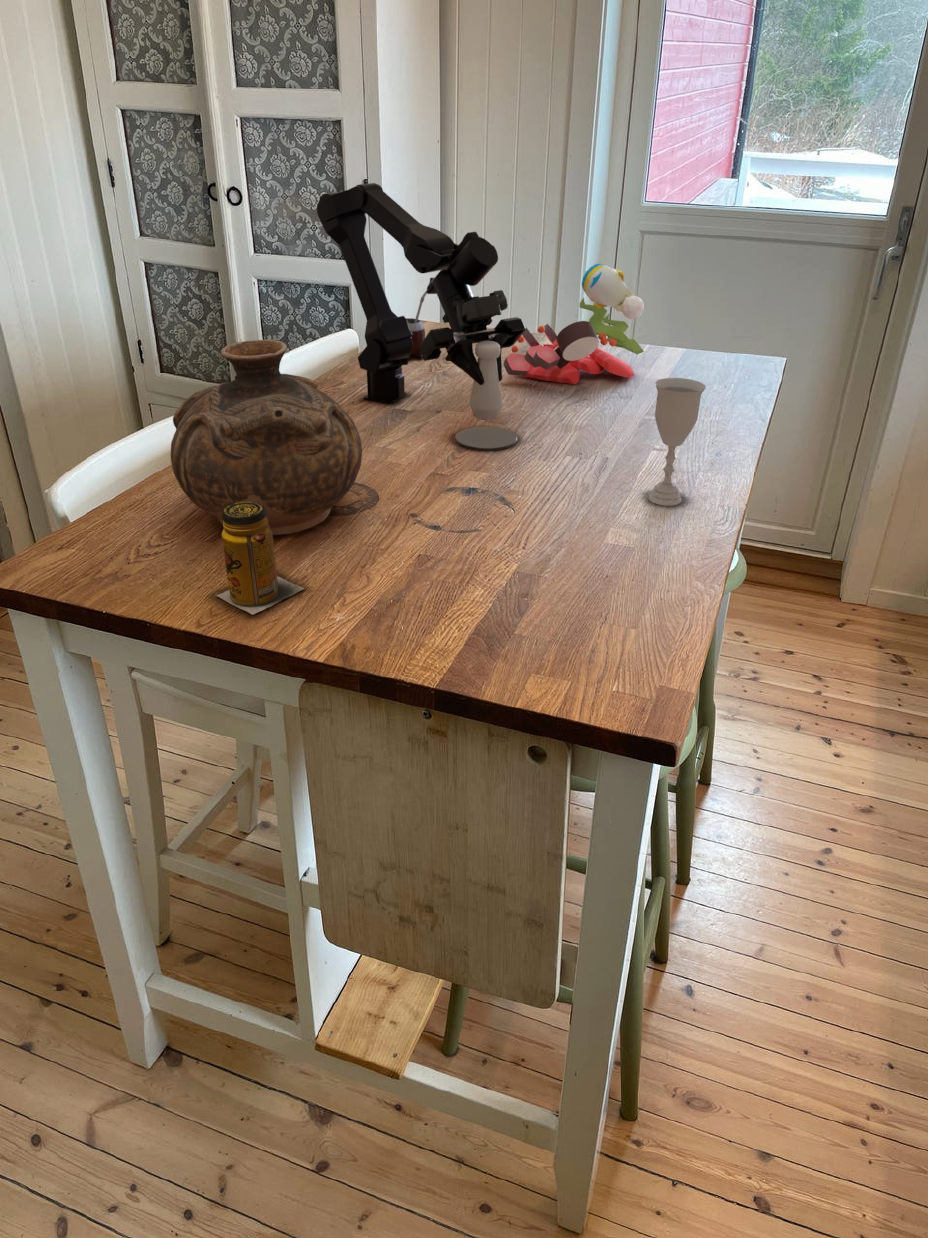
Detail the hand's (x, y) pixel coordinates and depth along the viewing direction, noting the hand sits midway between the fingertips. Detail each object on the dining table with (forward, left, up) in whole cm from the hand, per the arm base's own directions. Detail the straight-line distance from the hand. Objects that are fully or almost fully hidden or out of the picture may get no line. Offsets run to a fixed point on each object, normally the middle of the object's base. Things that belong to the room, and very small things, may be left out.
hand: (491, 382), depth 160 cm
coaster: (-1, +1, -11) cm, 11 cm away
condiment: (-6, -62, -11) cm, 64 cm away
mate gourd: (-36, +42, -11) cm, 56 cm away
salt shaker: (-1, +1, -7) cm, 7 cm away
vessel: (-18, -41, -11) cm, 46 cm away
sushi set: (+2, +44, -11) cm, 45 cm away
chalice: (+34, -11, -11) cm, 37 cm away
